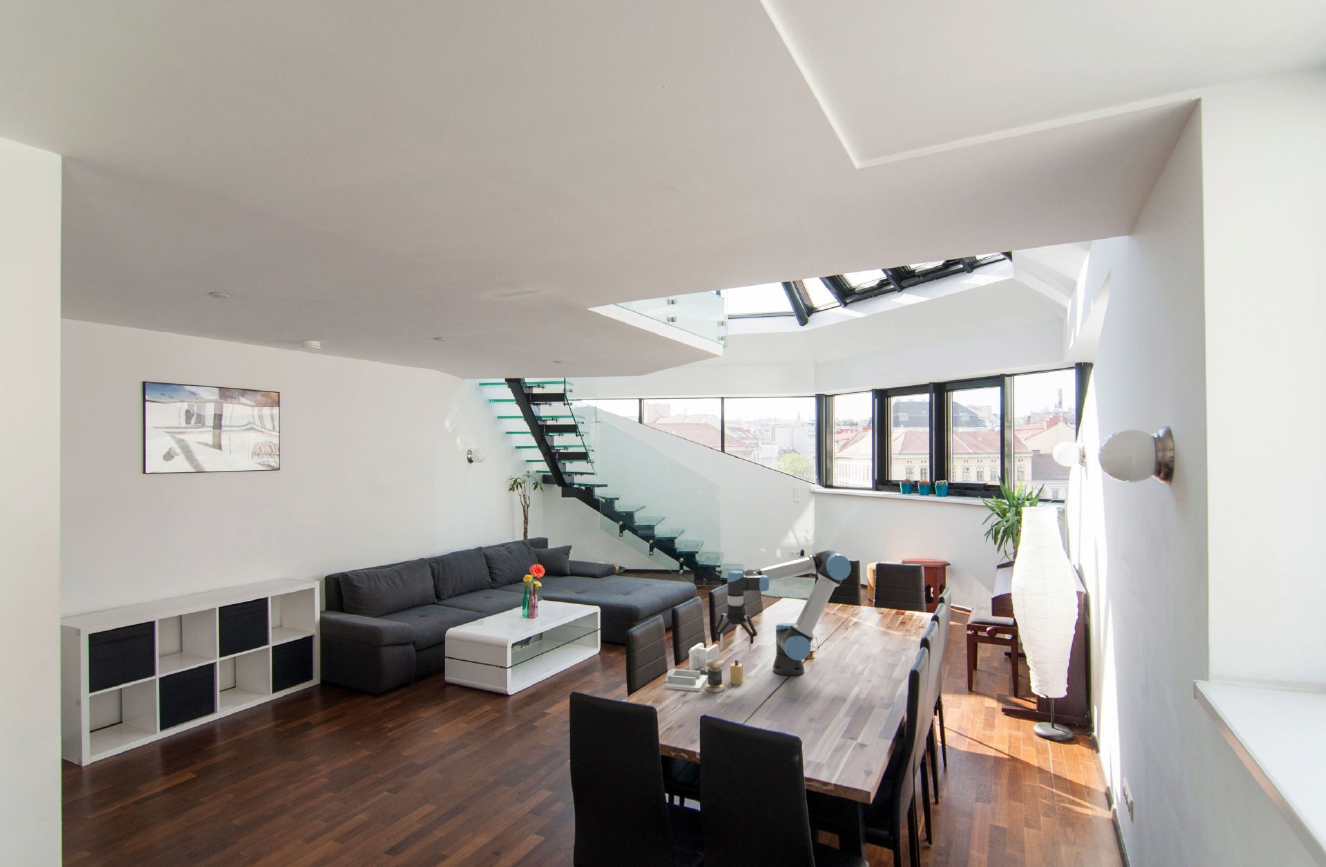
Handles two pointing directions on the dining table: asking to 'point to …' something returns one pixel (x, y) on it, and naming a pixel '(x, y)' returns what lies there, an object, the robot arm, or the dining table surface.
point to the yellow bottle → (736, 672)
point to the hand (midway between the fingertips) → (735, 649)
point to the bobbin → (714, 676)
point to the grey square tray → (686, 680)
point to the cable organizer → (702, 656)
